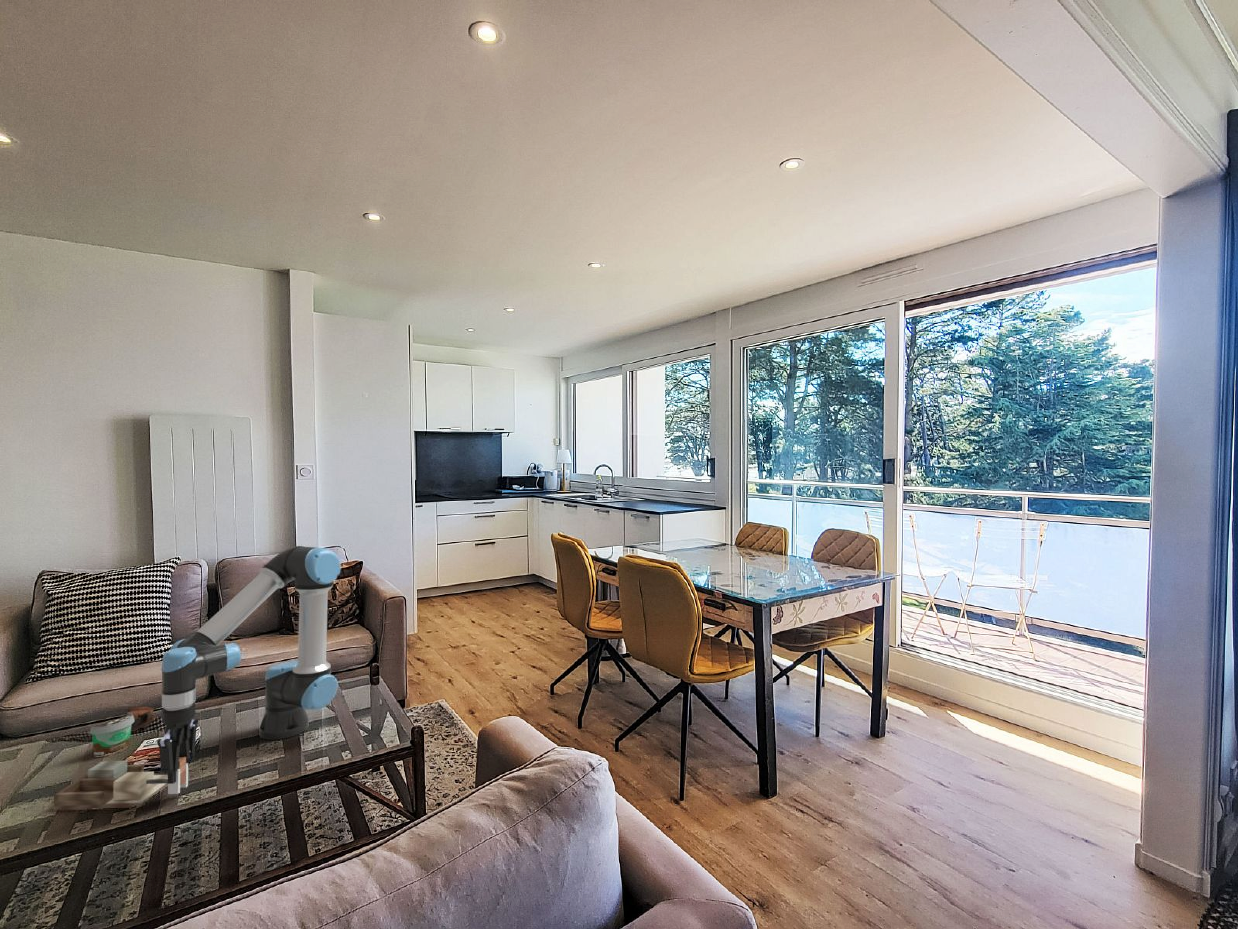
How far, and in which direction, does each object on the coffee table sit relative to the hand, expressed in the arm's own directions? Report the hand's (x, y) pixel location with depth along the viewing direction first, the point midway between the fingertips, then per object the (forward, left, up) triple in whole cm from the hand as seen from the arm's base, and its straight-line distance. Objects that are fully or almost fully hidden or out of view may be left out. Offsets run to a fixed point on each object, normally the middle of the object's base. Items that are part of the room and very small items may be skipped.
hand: (178, 790), depth 163 cm
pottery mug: (+44, -46, -3) cm, 64 cm away
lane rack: (+18, -4, -3) cm, 19 cm away
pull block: (+7, 0, -1) cm, 7 cm away
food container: (+38, -29, -3) cm, 48 cm away
